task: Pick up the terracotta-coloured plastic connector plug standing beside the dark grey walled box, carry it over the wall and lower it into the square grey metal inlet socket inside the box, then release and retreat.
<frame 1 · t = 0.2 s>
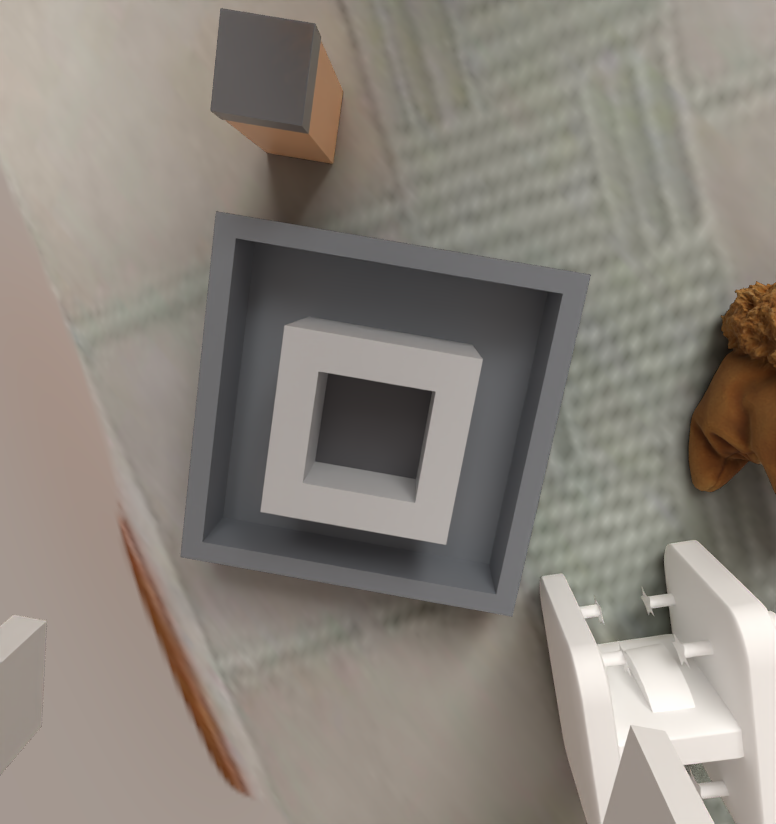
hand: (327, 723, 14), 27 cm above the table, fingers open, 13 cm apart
cable organizer: (623, 638, 43), on the table
stuffed squirrel: (763, 377, 39), on the table
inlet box: (378, 407, 41), on the table
plug: (304, 122, 37), on the table
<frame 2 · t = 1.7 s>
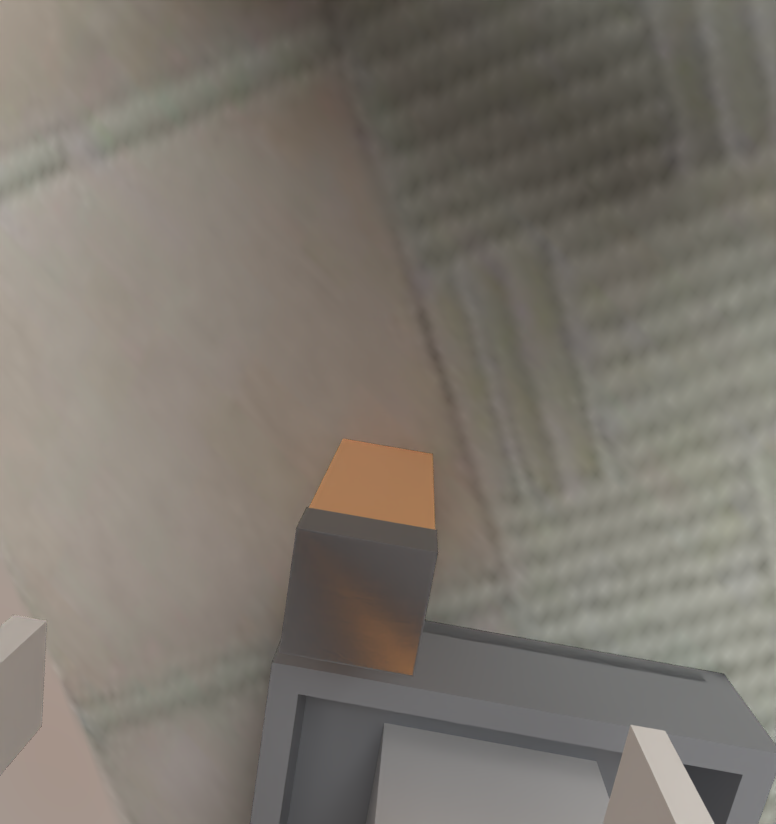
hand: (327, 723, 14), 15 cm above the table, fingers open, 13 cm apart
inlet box: (468, 811, 32), on the table
plug: (380, 488, 28), on the table
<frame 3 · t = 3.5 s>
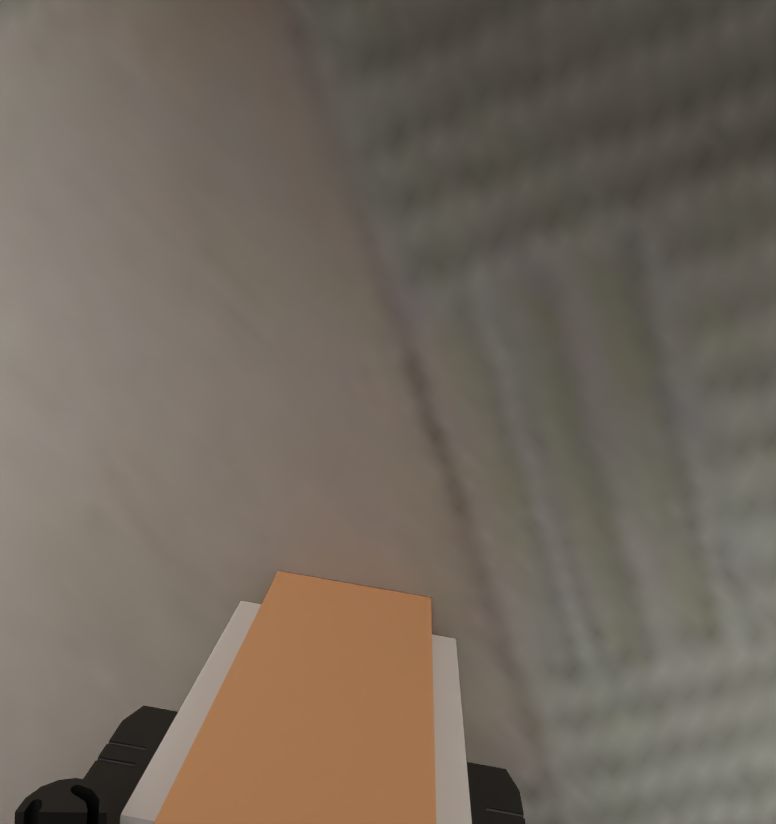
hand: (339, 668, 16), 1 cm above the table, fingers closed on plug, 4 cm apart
plug: (343, 652, 17), on the table, touching gripper
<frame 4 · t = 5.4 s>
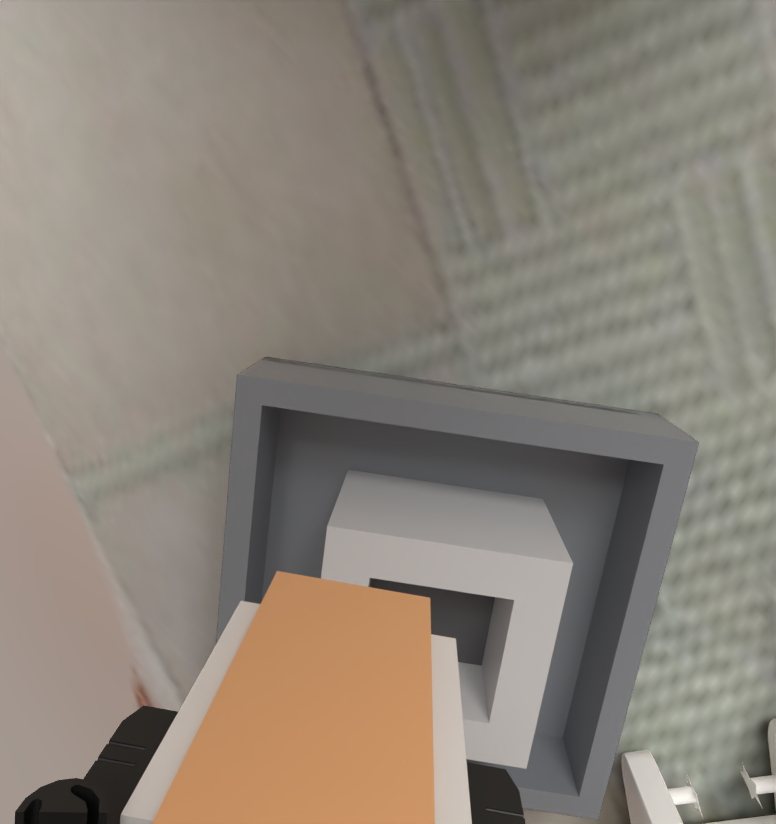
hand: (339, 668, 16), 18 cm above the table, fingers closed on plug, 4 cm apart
cable organizer: (716, 808, 38), on the table
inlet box: (430, 563, 35), on the table
plug: (342, 652, 17), point 17 cm above the table, touching gripper
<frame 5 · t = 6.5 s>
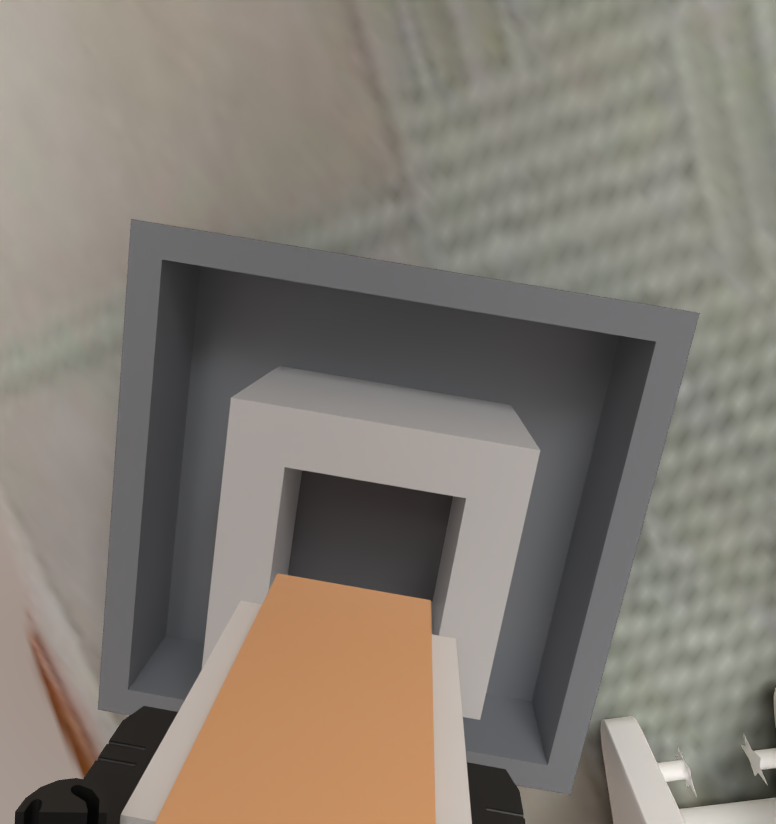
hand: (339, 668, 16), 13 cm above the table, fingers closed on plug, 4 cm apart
cable organizer: (711, 792, 32), on the table
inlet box: (378, 487, 29), on the table
plug: (342, 655, 17), point 13 cm above the table, touching gripper
when the fingers open (9 cm above the table, at t = 7.4 s): plug drops 4 cm, resting on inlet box.
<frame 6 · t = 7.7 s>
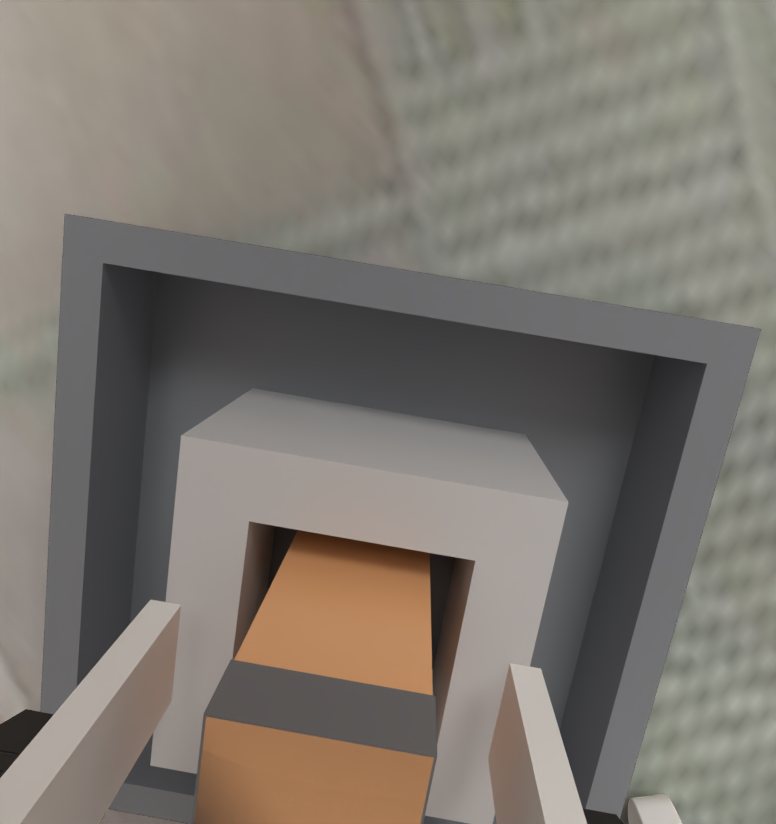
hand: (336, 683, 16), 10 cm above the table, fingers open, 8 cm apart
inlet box: (369, 528, 25), on the table
plug: (359, 575, 21), point 4 cm above the table, touching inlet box
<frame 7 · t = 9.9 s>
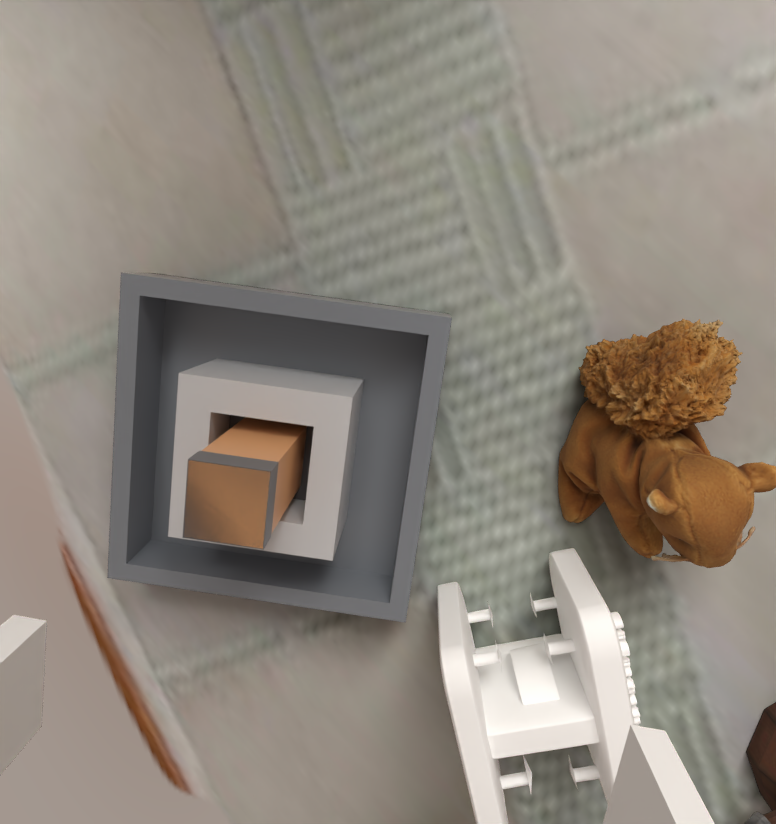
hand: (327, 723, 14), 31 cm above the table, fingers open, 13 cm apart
cable organizer: (521, 639, 47), on the table
stuffed squirrel: (623, 420, 44), on the table
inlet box: (286, 436, 45), on the table
plug: (273, 451, 41), point 4 cm above the table, touching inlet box
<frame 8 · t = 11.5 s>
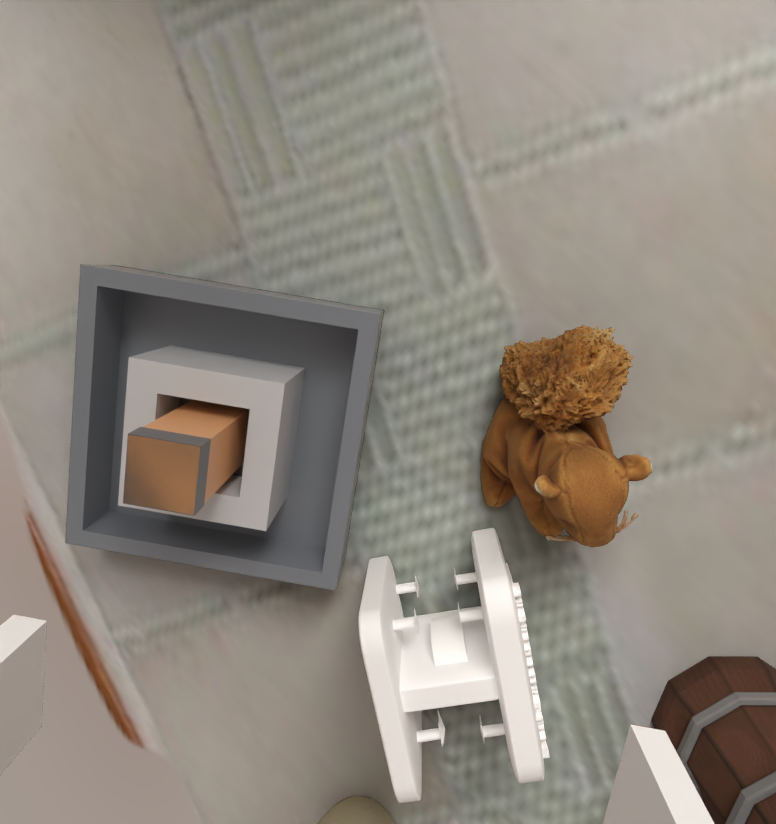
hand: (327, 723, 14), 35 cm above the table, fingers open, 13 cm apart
cable organizer: (448, 611, 52), on the table
mug: (699, 723, 52), on the table
flower pot: (361, 817, 56), on the table
stuffed squirrel: (541, 415, 48), on the table
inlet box: (234, 418, 49), on the table
plug: (218, 431, 45), point 4 cm above the table, touching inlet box
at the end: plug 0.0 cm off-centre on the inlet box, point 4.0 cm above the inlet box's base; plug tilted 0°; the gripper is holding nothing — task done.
